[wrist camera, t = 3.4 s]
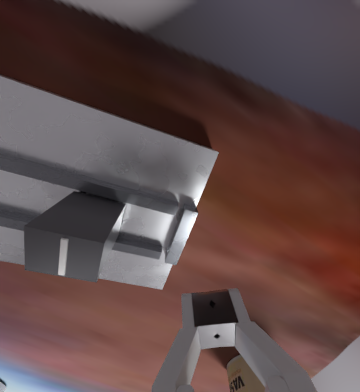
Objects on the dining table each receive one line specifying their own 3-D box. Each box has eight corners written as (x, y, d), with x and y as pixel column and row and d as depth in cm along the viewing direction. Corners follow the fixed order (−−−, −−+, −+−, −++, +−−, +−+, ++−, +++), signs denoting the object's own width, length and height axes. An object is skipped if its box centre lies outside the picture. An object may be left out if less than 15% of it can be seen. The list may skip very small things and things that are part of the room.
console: (212, 148, 13) (223, 154, 11) (162, 273, 18) (161, 299, 16) (-239, -10, 9) (-425, -71, 6) (-140, 213, 14) (-217, 235, 11)
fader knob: (125, 204, 12) (103, 244, 8) (118, 234, 13) (95, 283, 9) (74, 190, 12) (21, 227, 8) (70, 223, 13) (23, 271, 9)
